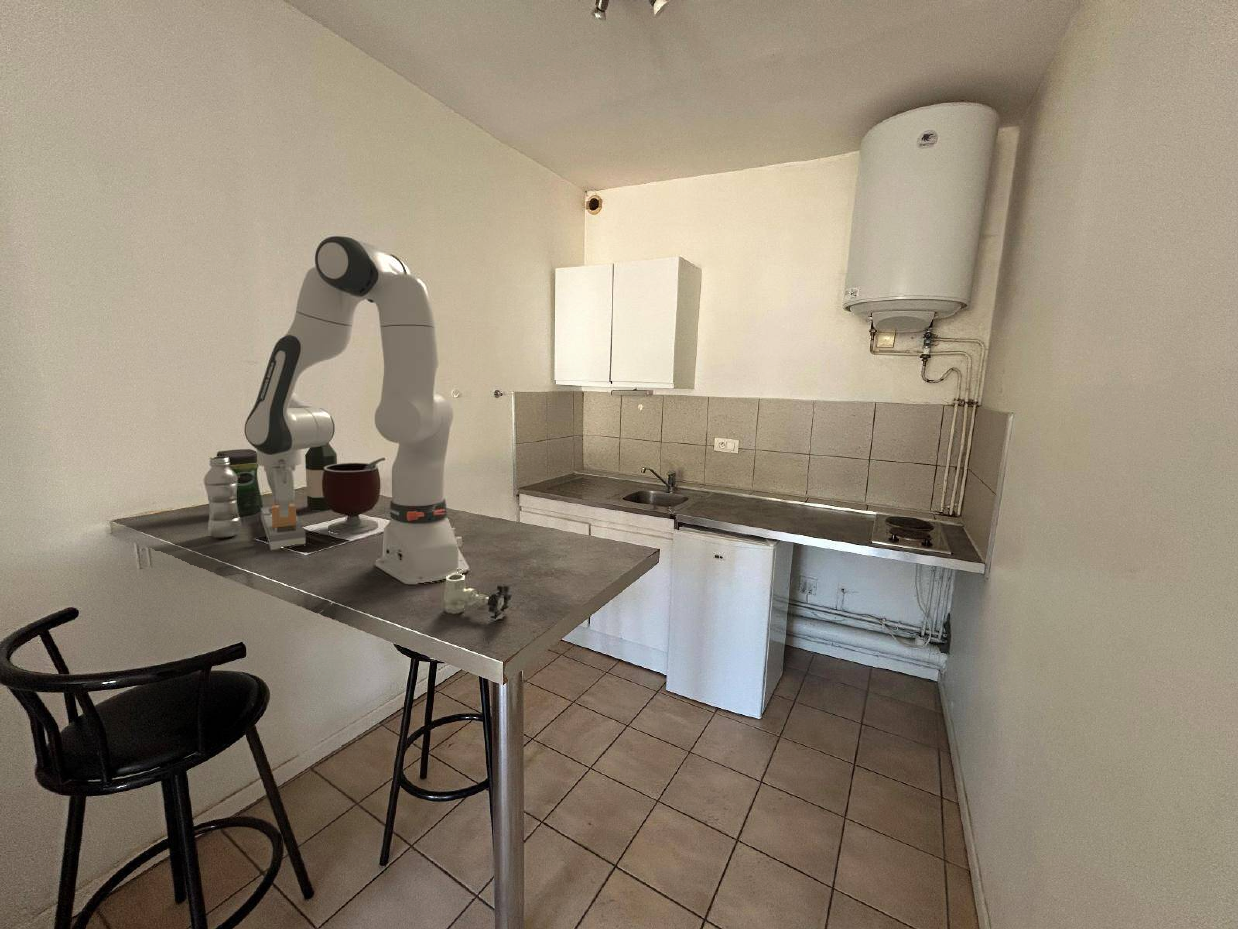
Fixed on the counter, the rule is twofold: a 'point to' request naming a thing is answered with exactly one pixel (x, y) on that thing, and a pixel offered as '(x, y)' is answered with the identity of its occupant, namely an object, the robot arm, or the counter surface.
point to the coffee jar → (245, 479)
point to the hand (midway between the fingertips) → (281, 511)
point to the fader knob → (283, 519)
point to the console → (281, 538)
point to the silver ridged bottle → (222, 498)
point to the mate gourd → (352, 494)
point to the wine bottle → (317, 474)
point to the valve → (473, 595)
